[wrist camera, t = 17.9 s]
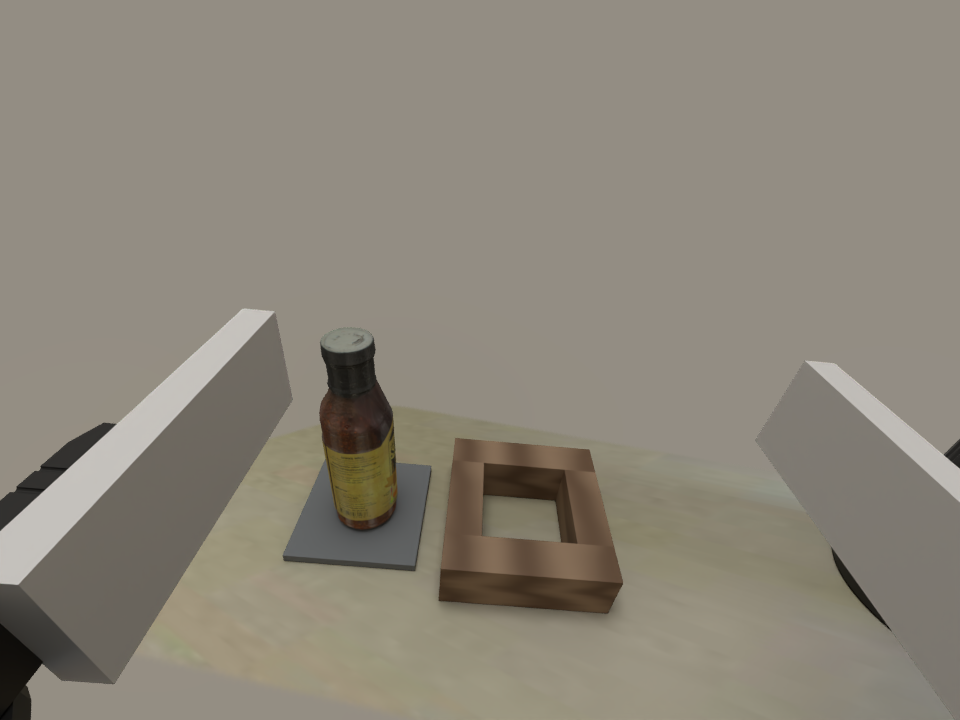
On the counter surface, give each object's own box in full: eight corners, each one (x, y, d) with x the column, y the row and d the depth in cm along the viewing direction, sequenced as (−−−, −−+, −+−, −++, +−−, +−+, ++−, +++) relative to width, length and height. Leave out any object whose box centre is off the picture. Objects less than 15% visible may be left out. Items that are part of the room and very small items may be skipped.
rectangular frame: (579, 479, 50) (589, 449, 47) (607, 613, 38) (623, 583, 35) (452, 469, 50) (455, 438, 47) (438, 600, 37) (440, 568, 34)
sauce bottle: (409, 512, 43) (408, 349, 32) (351, 545, 40) (328, 374, 29) (378, 471, 47) (369, 313, 36) (323, 497, 44) (294, 332, 33)
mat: (430, 470, 49) (431, 465, 49) (414, 570, 39) (414, 565, 39) (327, 461, 49) (326, 456, 48) (284, 560, 39) (282, 555, 38)
